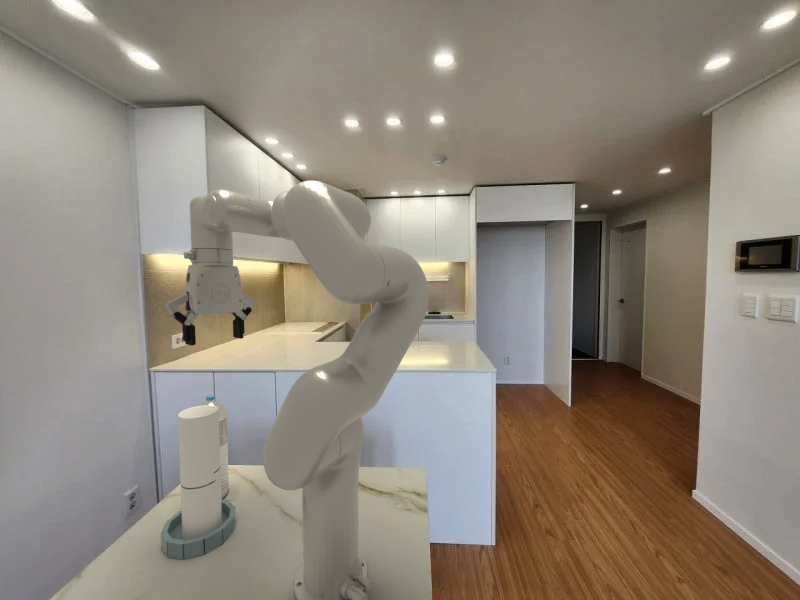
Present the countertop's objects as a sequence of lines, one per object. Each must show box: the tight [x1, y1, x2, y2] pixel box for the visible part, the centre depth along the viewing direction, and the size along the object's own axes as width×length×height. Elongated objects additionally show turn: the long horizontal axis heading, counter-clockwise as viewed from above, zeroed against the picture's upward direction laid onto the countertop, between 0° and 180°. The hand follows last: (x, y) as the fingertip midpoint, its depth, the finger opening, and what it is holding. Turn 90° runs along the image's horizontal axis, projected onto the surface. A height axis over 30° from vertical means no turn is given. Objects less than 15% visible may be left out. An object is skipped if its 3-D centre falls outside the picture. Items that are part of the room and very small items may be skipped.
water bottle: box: [202, 394, 230, 500], centre depth 82 cm, size 7×7×25 cm
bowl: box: [160, 499, 237, 560], centre depth 71 cm, size 13×13×3 cm
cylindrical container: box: [177, 404, 222, 540], centre depth 70 cm, size 7×7×25 cm
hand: (215, 341), depth 71 cm, fingers open, 9 cm apart
